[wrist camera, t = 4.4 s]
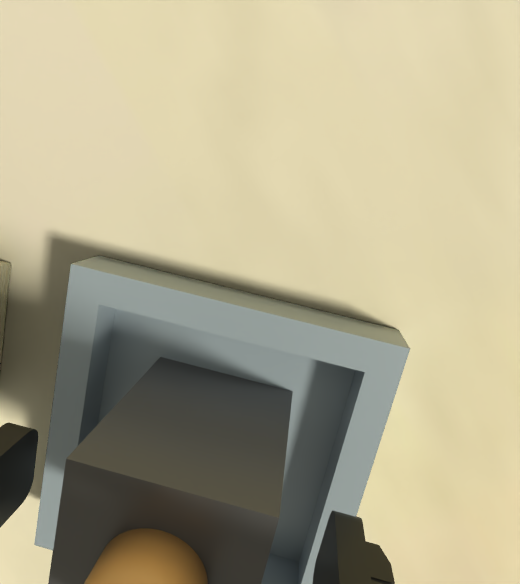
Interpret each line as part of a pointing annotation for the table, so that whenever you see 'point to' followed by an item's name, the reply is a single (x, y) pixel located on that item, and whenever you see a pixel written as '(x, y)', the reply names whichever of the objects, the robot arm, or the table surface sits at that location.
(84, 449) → the plug
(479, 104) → the table surface
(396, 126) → the table surface
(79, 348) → the tray
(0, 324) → the strip
